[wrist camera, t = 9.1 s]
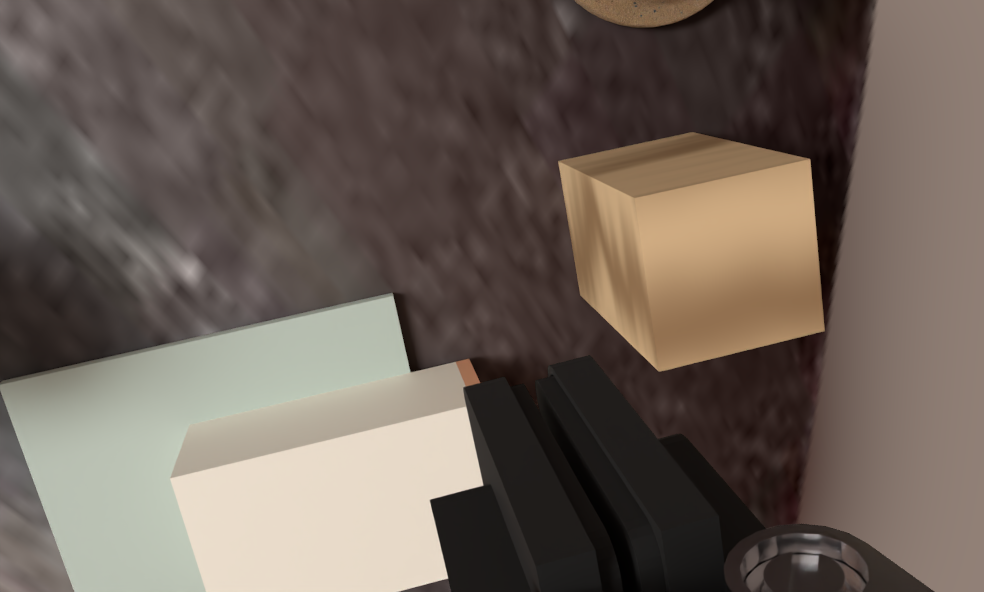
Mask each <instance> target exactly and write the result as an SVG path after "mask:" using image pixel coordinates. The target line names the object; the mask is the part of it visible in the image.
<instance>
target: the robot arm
mask: <svg viewBox="0 0 984 592" xmlns="http://www.w3.org/2000/svg"><path fill="white" fill-rule="evenodd" d="M535 388H536V395H537V400H538V405H539V410H538V408H537V406H536V405H535V403H534V401H533V399H532V397H531V396H530V394H529V392H528V390H527V389H526V387H525V385H524V384H520V385H516V386H512V387H510V386H509V384H508V382H507V380H506V378H505V377H502V378H498V379H494V380H490V381H486V382H482V383H478V384H474V385H470V386H466V387H463V392H464V398H465V403H466V408H467V412H468V417H469V421H470V426H471V431H472V435H473V440H474V444H475V449H476V454H477V458H478V463H479V467H480V472H481V477H482V481H483V486H479V487H476V488H472V489H468V490H464V491H461V492H457V493H453V494H449V495H446V496H442V497H438V498H434V499H430V504H431V508H432V512H433V517H434V521H435V525H436V529H437V533H438V538H439V542H440V546H441V550H442V554H443V559H444V563H445V567H446V571H447V575H448V579H449V584H450V588H451V592H934V591H933V590H931V589H930V588H929V587H927V586H926V585H924V584H923V583H922V582H920V581H919V580H917V579H916V578H915V577H913V576H912V575H910V574H909V573H908V572H906V571H905V570H904V569H902V568H901V567H899V566H898V565H897V564H895V563H894V562H892V561H891V560H890V559H888V558H887V557H885V556H884V555H882V554H881V553H880V552H879V551H877V550H876V549H874V548H873V547H872V546H870V545H869V544H867V543H866V542H864V541H862V540H860V539H858V538H856V537H855V536H853V535H851V534H849V533H847V532H844V531H840V530H837V529H833V528H830V527H826V526H818V525H808V524H793V525H780V526H775V527H771V528H768V529H766V528H765V527H764V526H763V525H762V524H761V522H760V521H759V520H758V519H757V518H756V517H755V516H754V514H753V513H752V512H751V511H750V510H749V509H748V508H747V506H746V505H745V504H744V503H743V502H742V501H741V500H740V498H739V497H738V496H737V495H736V494H735V493H734V492H733V490H732V489H731V488H730V487H729V486H728V485H727V483H726V482H725V481H724V480H723V479H722V478H721V477H720V475H719V474H718V473H717V472H716V471H715V470H714V469H713V467H712V466H711V465H710V464H709V463H708V462H707V461H706V459H705V458H704V457H703V456H702V455H701V454H700V453H699V451H698V450H697V449H696V448H695V447H694V446H693V445H692V443H691V442H690V441H689V440H688V439H687V438H686V437H685V436H684V435H682V434H675V435H671V436H668V437H664V438H660V439H657V438H656V436H655V435H654V434H653V433H652V431H651V430H650V429H649V428H648V426H647V425H646V424H645V423H644V421H643V420H642V419H641V418H640V416H639V415H638V414H637V413H636V411H635V410H634V409H633V408H632V407H631V405H630V404H629V403H628V402H627V400H626V399H625V398H624V397H623V395H622V394H621V393H620V392H619V390H618V389H617V388H616V387H615V385H614V384H613V383H612V382H611V380H610V379H609V378H608V377H607V375H606V374H605V373H604V372H603V370H602V369H601V368H600V367H599V365H598V364H597V363H596V362H595V360H594V359H593V358H592V357H591V356H590V355H589V356H585V357H581V358H577V359H573V360H569V361H565V362H561V363H557V364H553V365H550V366H548V377H547V378H543V379H539V380H536V381H535ZM539 411H540V412H539Z"/></svg>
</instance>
